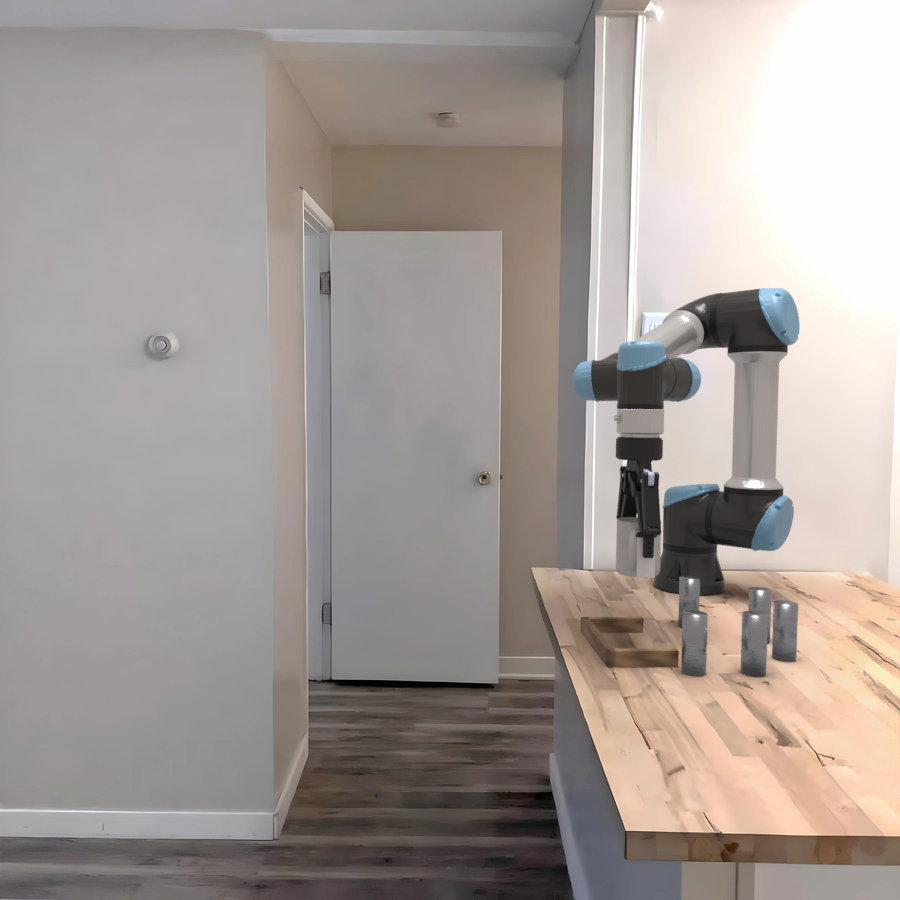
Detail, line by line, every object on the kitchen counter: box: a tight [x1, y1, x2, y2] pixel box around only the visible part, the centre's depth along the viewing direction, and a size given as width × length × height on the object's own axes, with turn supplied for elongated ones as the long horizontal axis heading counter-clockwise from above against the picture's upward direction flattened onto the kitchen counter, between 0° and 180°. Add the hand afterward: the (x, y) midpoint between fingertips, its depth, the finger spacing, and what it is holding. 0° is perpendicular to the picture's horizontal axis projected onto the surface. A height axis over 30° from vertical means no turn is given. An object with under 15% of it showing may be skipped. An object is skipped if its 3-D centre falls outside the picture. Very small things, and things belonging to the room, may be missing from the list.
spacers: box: [677, 576, 799, 678], centre depth 126 cm, size 21×28×9 cm
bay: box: [580, 616, 680, 668], centre depth 126 cm, size 11×19×2 cm, turn 3°
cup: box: [615, 516, 662, 578], centre depth 125 cm, size 7×10×9 cm
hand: (636, 570), depth 125 cm, fingers closed on cup, 9 cm apart
